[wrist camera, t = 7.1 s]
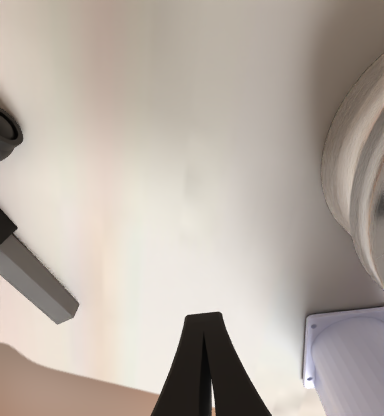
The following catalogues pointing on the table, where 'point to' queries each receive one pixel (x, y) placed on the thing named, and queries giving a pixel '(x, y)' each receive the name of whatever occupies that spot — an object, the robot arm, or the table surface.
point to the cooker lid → (370, 204)
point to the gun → (21, 257)
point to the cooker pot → (350, 139)
